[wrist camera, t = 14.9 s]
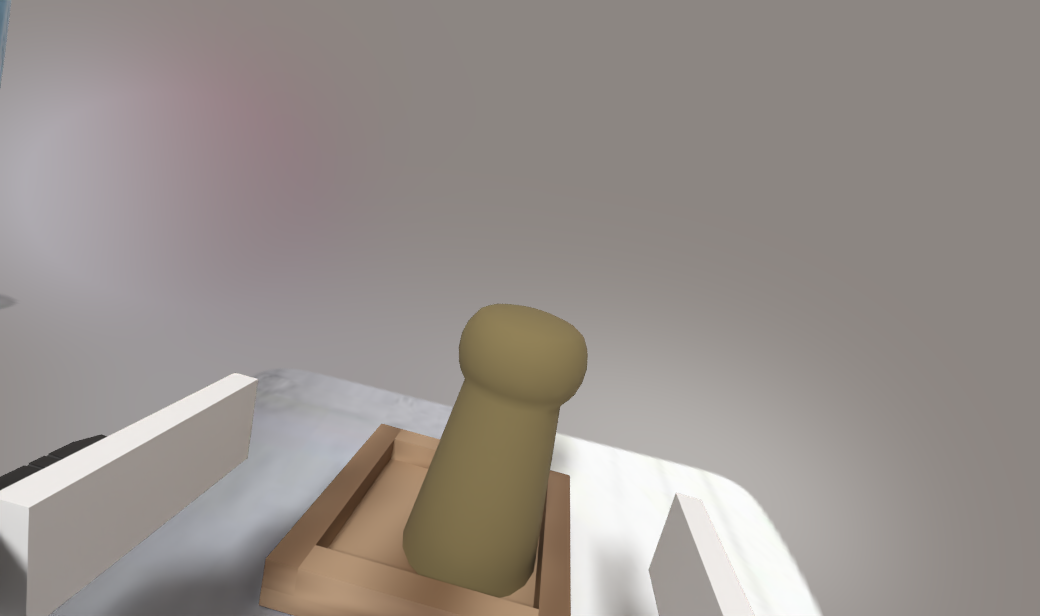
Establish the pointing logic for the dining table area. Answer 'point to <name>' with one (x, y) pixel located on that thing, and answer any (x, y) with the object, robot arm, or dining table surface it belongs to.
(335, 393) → the dining table surface
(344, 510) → the tray
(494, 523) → the cork
